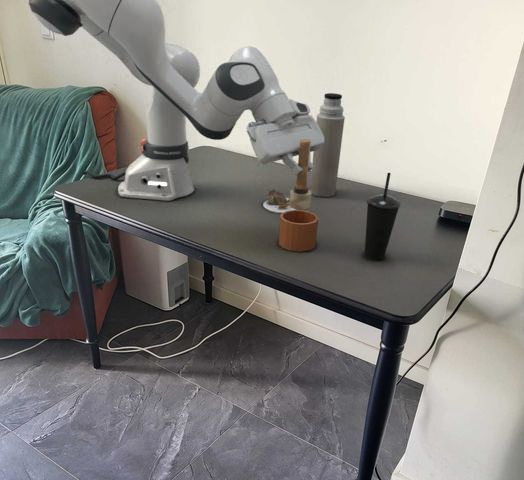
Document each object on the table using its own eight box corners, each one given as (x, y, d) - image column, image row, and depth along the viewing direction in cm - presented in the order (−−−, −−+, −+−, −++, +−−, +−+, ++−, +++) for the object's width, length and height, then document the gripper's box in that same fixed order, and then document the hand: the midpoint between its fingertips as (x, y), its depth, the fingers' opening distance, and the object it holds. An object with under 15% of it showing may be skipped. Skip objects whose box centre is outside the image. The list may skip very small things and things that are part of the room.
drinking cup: (355, 249, 128) (367, 167, 116) (384, 249, 129) (400, 168, 117) (362, 263, 122) (376, 178, 110) (393, 263, 123) (411, 179, 111)
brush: (287, 208, 122) (292, 142, 113) (291, 201, 126) (295, 136, 117) (308, 211, 121) (315, 144, 112) (311, 203, 125) (317, 139, 116)
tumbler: (280, 251, 125) (282, 224, 121) (277, 235, 133) (278, 209, 129) (318, 251, 126) (321, 224, 122) (312, 236, 134) (314, 210, 130)
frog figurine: (254, 206, 149) (254, 193, 147) (277, 196, 157) (277, 183, 155) (287, 216, 144) (288, 203, 142) (309, 205, 152) (310, 192, 150)
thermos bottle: (310, 187, 165) (319, 90, 148) (335, 189, 164) (347, 92, 148) (309, 195, 158) (318, 95, 142) (335, 197, 158) (348, 97, 141)
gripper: (250, 114, 109) (281, 172, 110) (312, 104, 122) (340, 156, 122) (236, 132, 114) (265, 188, 115) (296, 120, 127) (323, 170, 127)
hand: (304, 171), depth 118 cm, fingers closed on brush, 2 cm apart
